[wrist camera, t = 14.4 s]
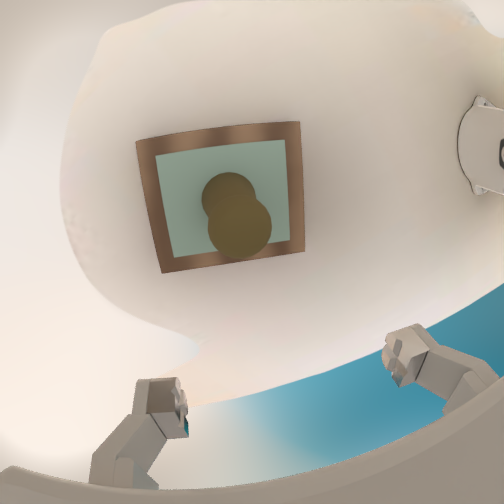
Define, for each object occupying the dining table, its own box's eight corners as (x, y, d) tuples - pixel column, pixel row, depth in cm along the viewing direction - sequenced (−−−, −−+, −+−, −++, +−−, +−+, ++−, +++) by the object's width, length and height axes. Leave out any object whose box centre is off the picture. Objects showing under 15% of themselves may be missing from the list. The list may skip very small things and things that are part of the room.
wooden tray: (291, 121, 32) (300, 121, 30) (297, 242, 39) (305, 252, 36) (140, 140, 30) (134, 141, 27) (164, 262, 37) (161, 274, 34)
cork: (266, 202, 33) (296, 238, 23) (224, 234, 34) (236, 283, 24) (233, 160, 30) (250, 178, 20) (190, 196, 31) (185, 231, 21)
